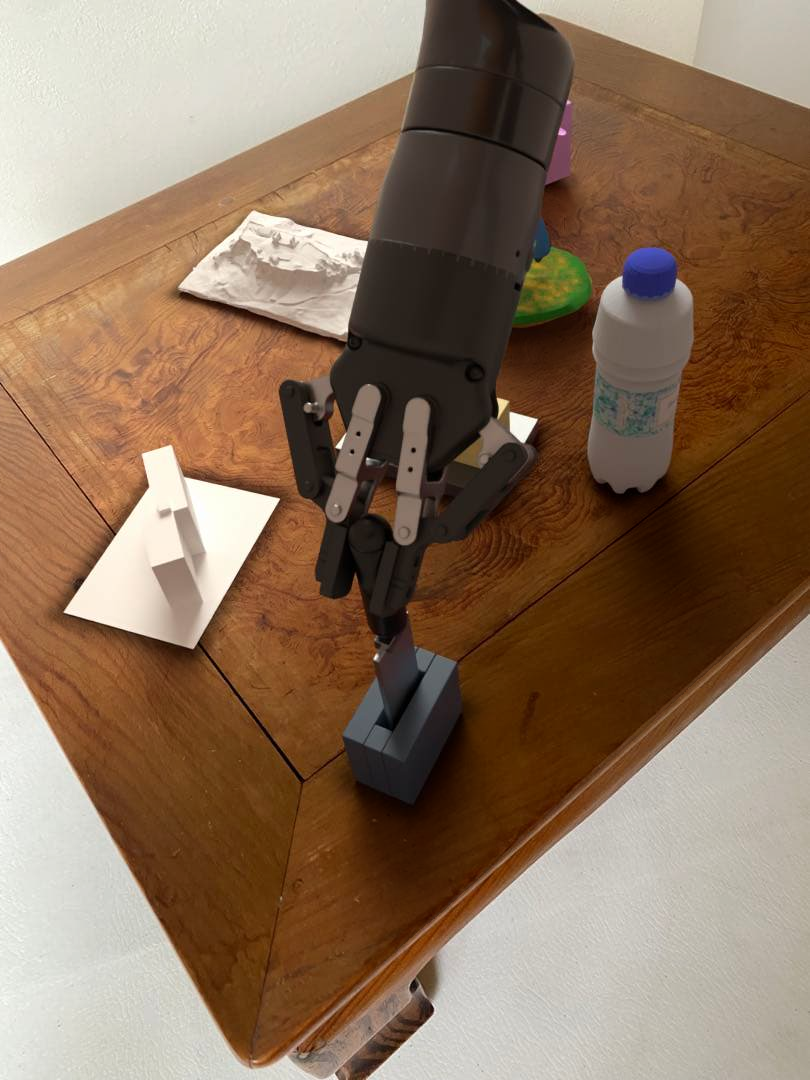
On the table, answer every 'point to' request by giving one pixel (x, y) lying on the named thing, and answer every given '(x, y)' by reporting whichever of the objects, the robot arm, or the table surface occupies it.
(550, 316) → the figurine
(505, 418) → the butter block
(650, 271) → the bottle
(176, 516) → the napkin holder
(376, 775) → the knife stand
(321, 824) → the table surface
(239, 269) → the terrain model
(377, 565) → the knife
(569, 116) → the teapot
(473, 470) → the board
